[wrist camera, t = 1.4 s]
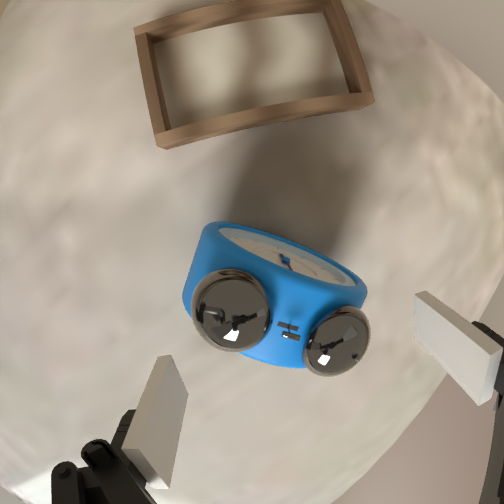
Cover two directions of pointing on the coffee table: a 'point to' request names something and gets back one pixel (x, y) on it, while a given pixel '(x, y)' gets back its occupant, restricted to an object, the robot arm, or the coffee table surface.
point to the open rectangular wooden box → (248, 67)
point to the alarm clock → (276, 301)
